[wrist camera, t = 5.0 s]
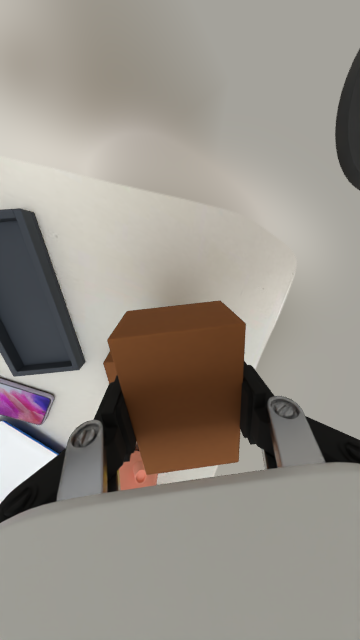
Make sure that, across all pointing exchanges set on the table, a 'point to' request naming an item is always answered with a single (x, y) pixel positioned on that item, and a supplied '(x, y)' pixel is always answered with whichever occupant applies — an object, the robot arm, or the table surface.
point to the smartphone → (24, 402)
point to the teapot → (135, 474)
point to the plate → (19, 457)
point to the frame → (32, 302)
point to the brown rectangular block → (182, 383)
